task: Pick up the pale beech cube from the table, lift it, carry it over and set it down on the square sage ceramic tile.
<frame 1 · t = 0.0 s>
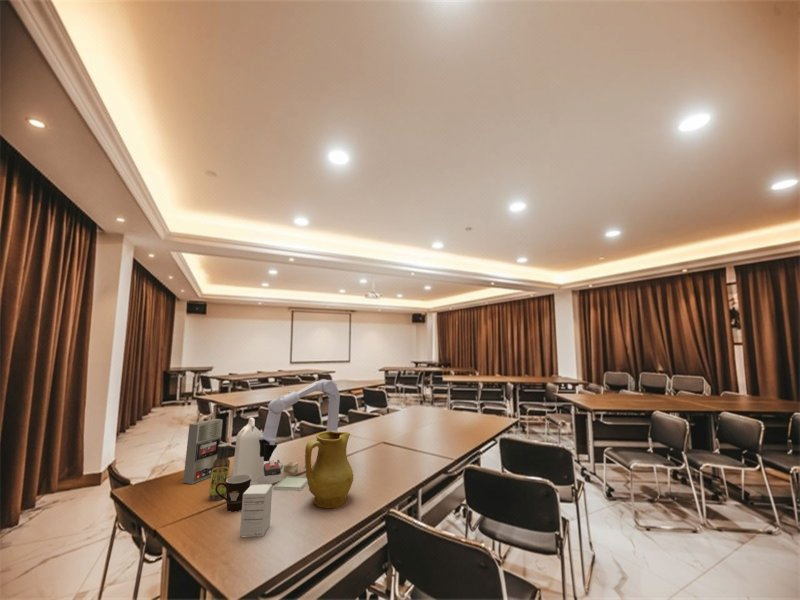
hand: (264, 458, 142), 11 cm above the table, tool pointing down, fingers open, 7 cm apart
sage tile: (292, 484, 141), on the table
walkie-talkie: (273, 470, 160), on the table
milk: (247, 477, 150), on the table
coffee mug: (233, 507, 119), on the table
supplement box: (255, 531, 103), on the table
sauce bottle: (217, 498, 127), on the table
pitcher: (328, 502, 124), on the table
beech cube: (290, 475, 152), on the table
cassette tape recorder: (201, 478, 148), on the table
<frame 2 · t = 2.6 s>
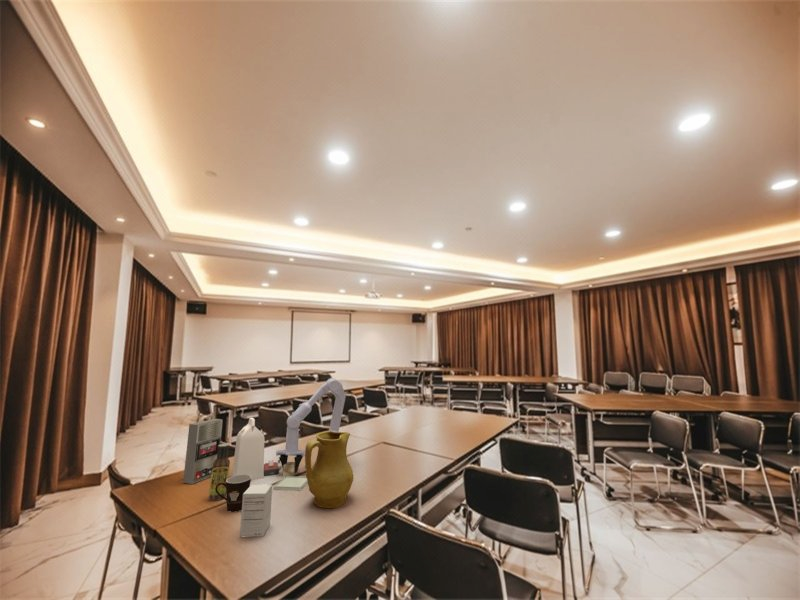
hand: (290, 471, 152), 1 cm above the table, tool pointing down, fingers closed on beech cube, 5 cm apart
beech cube: (290, 474, 152), on the table, touching gripper
everything else where it was.
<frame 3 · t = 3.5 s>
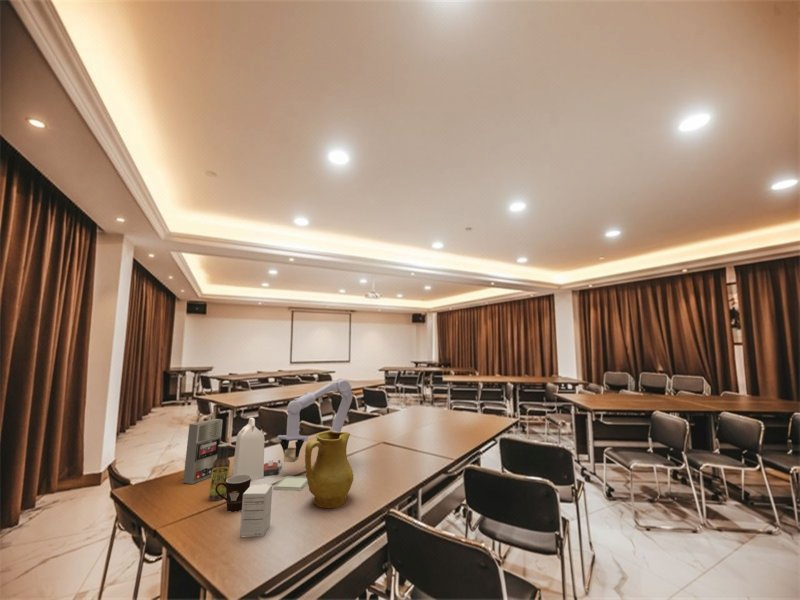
hand: (291, 456, 153), 8 cm above the table, tool pointing down, fingers closed on beech cube, 5 cm apart
beech cube: (291, 460, 153), point 7 cm above the table, touching gripper
everything else where it was.
when the fingers open (3 cm above the table, at t = 5.6 s): beech cube stays where it is, resting on sage tile.
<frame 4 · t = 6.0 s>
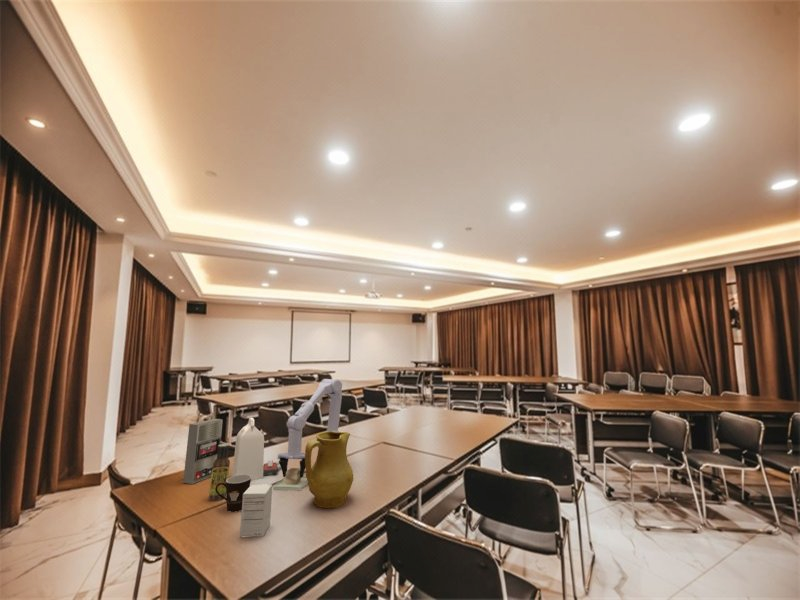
hand: (293, 476, 141), 3 cm above the table, tool pointing down, fingers open, 7 cm apart
beech cube: (293, 482, 141), point 1 cm above the table, touching sage tile
everything else where it was.
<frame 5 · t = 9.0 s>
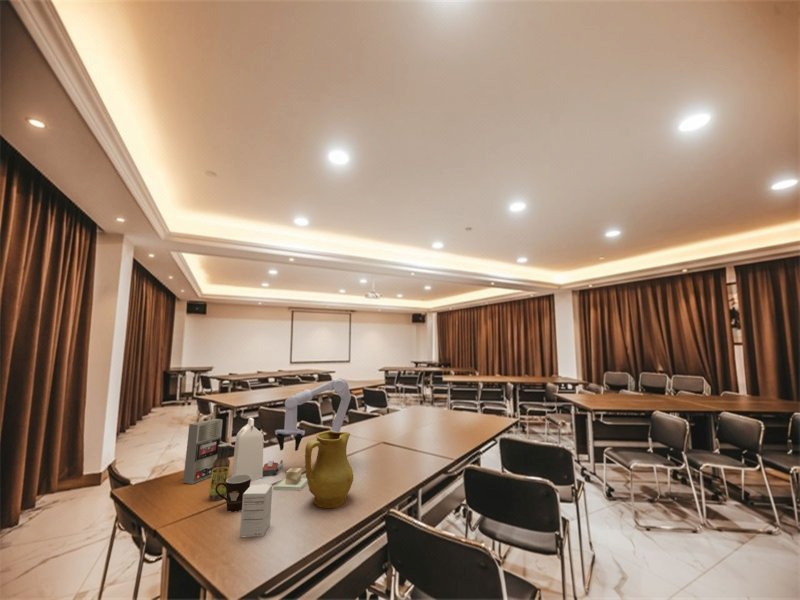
hand: (289, 450, 158), 10 cm above the table, tool pointing down, fingers open, 7 cm apart
walkie-talkie: (272, 471, 159), on the table, touching milk
milk: (246, 477, 150), on the table, touching walkie-talkie
everything else where it was.
at the end: beech cube inside the target area on the sage tile (0.1 cm from its centre), point 0.8 cm above the sage tile's base; beech cube tilted 0°; the gripper is holding nothing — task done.
